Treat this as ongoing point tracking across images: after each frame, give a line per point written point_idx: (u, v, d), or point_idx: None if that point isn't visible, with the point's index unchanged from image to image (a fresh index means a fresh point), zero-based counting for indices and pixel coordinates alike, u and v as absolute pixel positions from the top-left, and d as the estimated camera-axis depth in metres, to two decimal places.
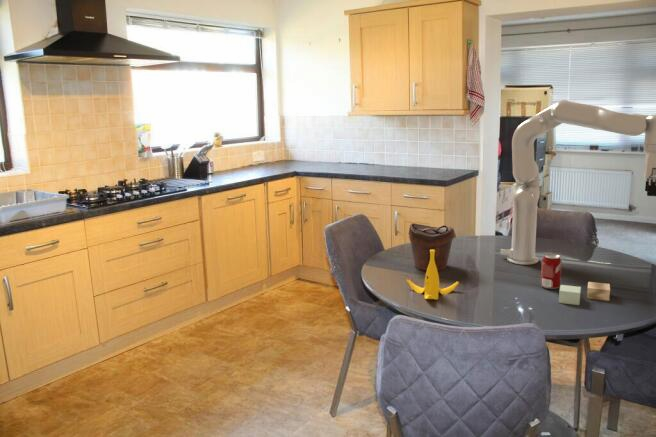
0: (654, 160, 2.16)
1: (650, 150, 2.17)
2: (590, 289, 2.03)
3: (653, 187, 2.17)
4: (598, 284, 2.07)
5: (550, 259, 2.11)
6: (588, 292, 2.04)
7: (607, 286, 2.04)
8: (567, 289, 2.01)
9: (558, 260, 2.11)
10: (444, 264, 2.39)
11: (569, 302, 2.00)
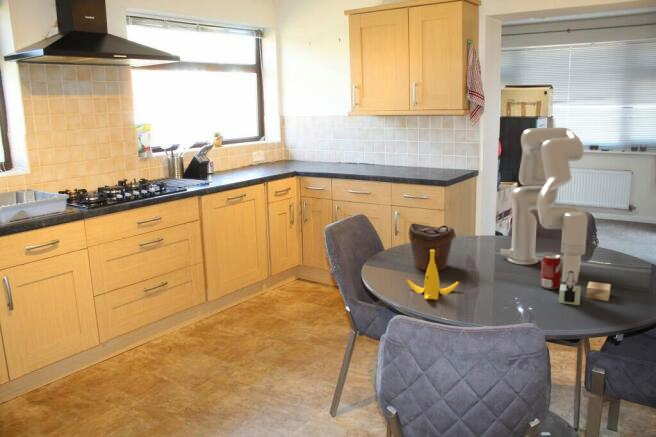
0: (570, 263, 1.95)
1: (567, 251, 1.96)
2: (589, 289, 2.04)
3: (570, 293, 1.98)
4: (598, 284, 2.07)
5: (550, 259, 2.11)
6: (587, 292, 2.04)
7: (607, 286, 2.04)
8: None
9: (558, 260, 2.11)
10: (444, 264, 2.39)
11: (569, 302, 2.00)
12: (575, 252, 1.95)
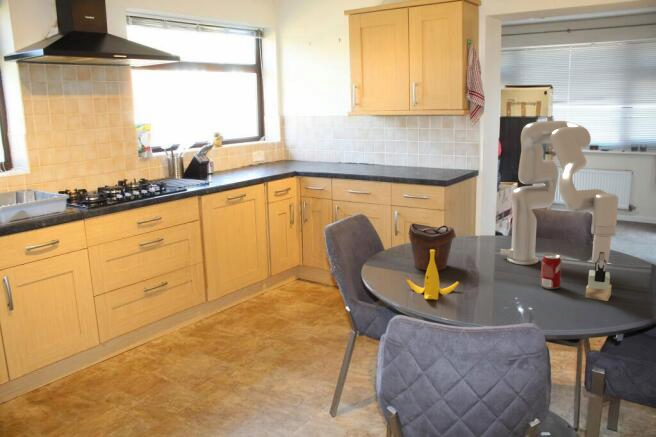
0: (601, 244, 1.97)
1: (597, 232, 1.99)
2: (588, 288, 2.04)
3: (601, 273, 1.99)
4: None
5: (550, 259, 2.11)
6: (586, 291, 2.05)
7: None
8: None
9: (558, 260, 2.11)
10: (444, 264, 2.39)
11: (599, 287, 2.02)
12: (606, 233, 1.97)
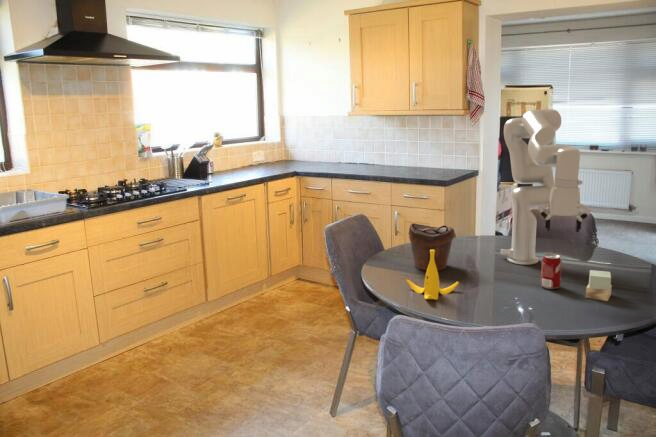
0: (550, 193, 2.08)
1: None
2: (589, 288, 2.04)
3: (545, 221, 2.10)
4: None
5: (550, 259, 2.11)
6: (587, 291, 2.05)
7: None
8: (597, 274, 2.04)
9: (558, 260, 2.11)
10: (444, 264, 2.39)
11: (600, 287, 2.02)
12: (555, 184, 2.06)
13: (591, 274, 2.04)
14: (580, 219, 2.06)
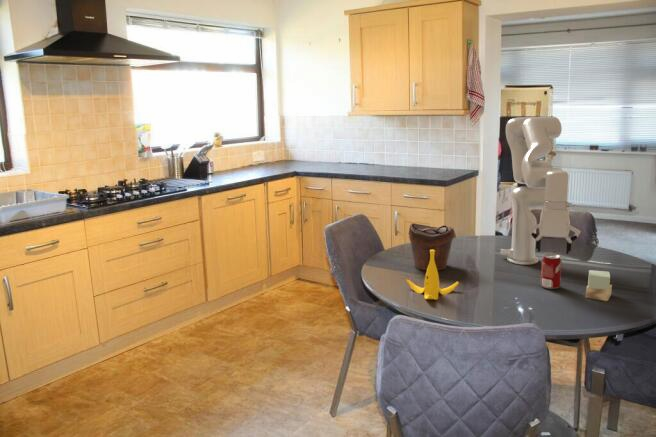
0: None
1: None
2: (588, 288, 2.04)
3: None
4: None
5: (550, 259, 2.11)
6: (586, 291, 2.05)
7: None
8: (596, 273, 2.04)
9: (558, 260, 2.11)
10: (444, 264, 2.39)
11: (599, 287, 2.02)
12: (544, 206, 2.10)
13: (590, 274, 2.04)
14: (570, 241, 2.08)
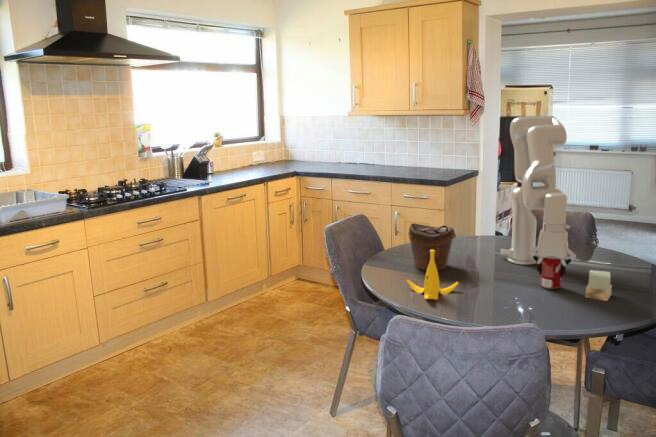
0: (539, 236, 2.14)
1: None
2: (588, 288, 2.04)
3: None
4: None
5: (550, 259, 2.11)
6: (586, 291, 2.05)
7: None
8: (597, 274, 2.04)
9: (558, 260, 2.11)
10: (444, 264, 2.39)
11: (599, 287, 2.02)
12: (543, 228, 2.12)
13: (591, 274, 2.04)
14: (564, 264, 2.11)
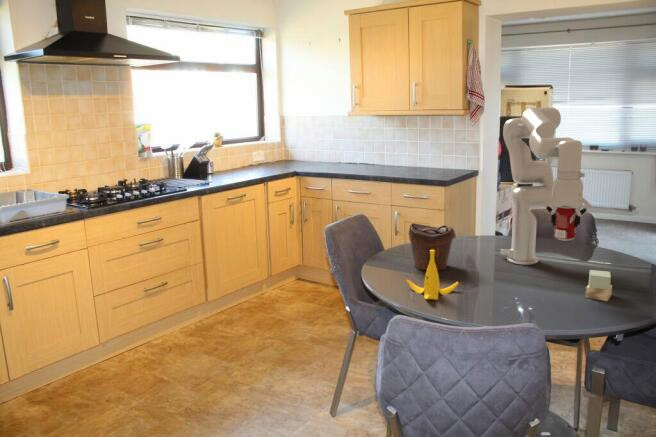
0: None
1: None
2: (588, 288, 2.04)
3: None
4: None
5: (564, 209, 2.05)
6: (586, 291, 2.05)
7: None
8: (597, 273, 2.04)
9: (572, 210, 2.04)
10: (444, 264, 2.39)
11: (599, 286, 2.02)
12: (557, 177, 2.05)
13: (591, 274, 2.04)
14: (579, 214, 2.04)
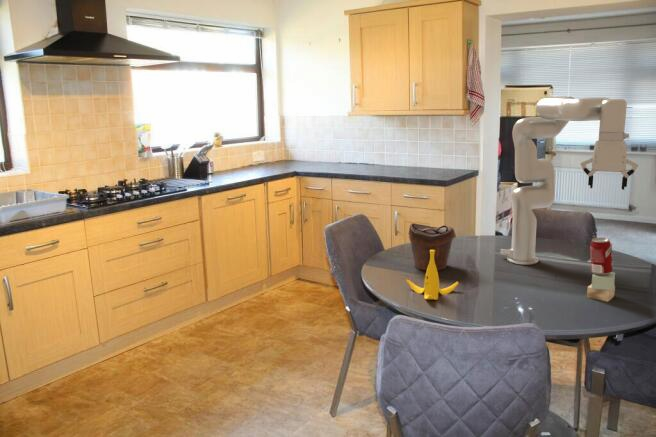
0: (594, 148, 1.97)
1: None
2: (590, 288, 2.04)
3: None
4: None
5: (598, 243, 2.00)
6: (588, 291, 2.05)
7: None
8: None
9: (607, 244, 1.99)
10: (444, 264, 2.39)
11: (602, 287, 2.01)
12: (599, 138, 1.94)
13: (594, 274, 2.03)
14: (626, 175, 1.93)
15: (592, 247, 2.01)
